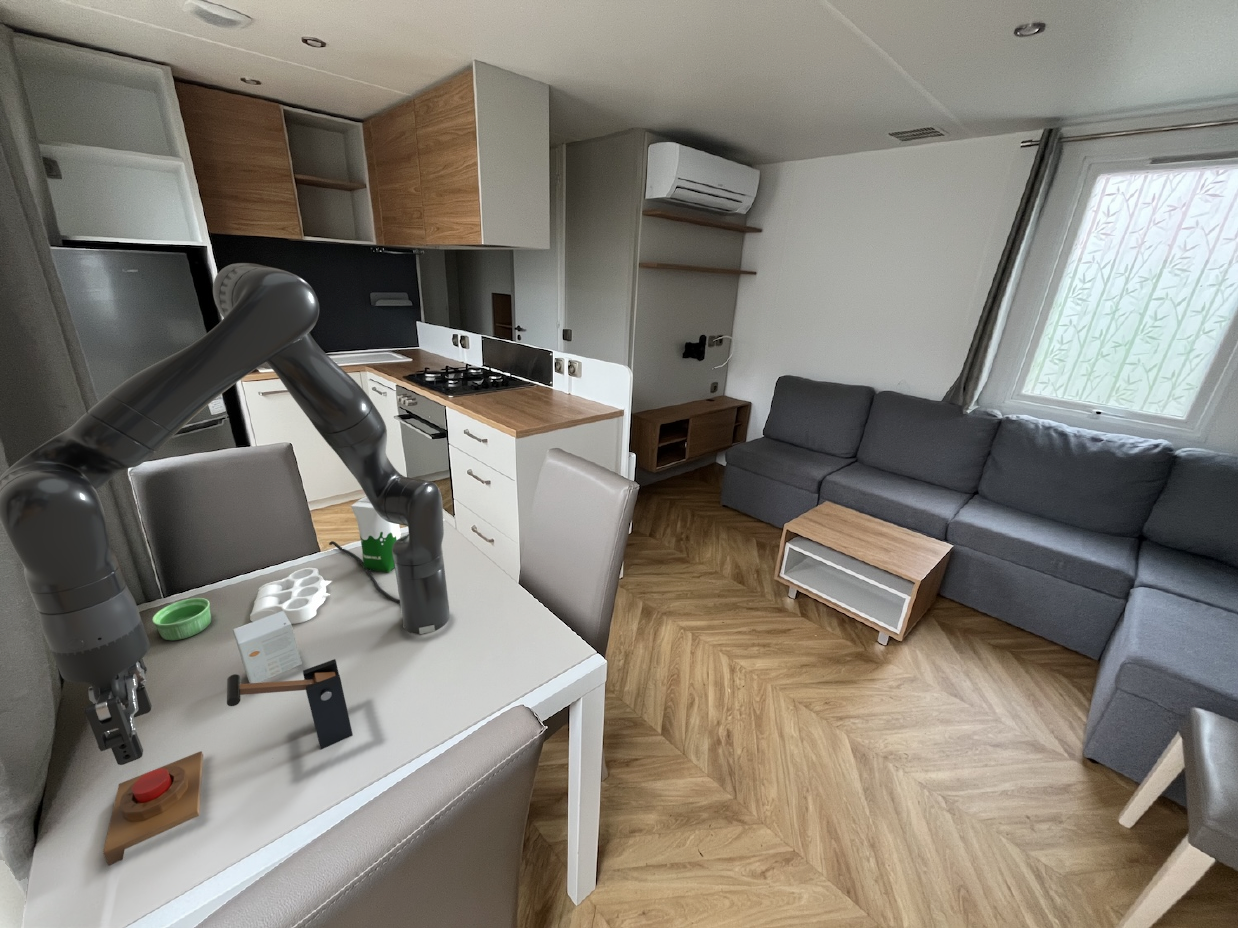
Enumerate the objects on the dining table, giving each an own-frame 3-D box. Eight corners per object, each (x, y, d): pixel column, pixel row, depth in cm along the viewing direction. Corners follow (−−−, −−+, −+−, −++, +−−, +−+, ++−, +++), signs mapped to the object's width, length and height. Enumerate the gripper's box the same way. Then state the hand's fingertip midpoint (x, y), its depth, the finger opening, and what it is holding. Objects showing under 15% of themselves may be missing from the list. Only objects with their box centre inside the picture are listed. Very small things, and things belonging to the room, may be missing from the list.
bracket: (298, 778, 72) (279, 710, 68) (293, 735, 79) (275, 671, 74) (379, 740, 78) (367, 676, 74) (368, 703, 85) (356, 643, 81)
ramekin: (158, 649, 96) (151, 630, 95) (158, 626, 103) (152, 608, 101) (216, 630, 102) (210, 612, 100) (213, 609, 108) (207, 592, 107)
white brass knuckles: (263, 588, 116) (334, 574, 122) (249, 634, 101) (330, 616, 107) (260, 576, 115) (331, 562, 121) (245, 621, 100) (328, 603, 106)
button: (138, 786, 67) (134, 777, 66) (173, 772, 69) (169, 763, 68) (134, 808, 64) (129, 799, 63) (170, 793, 66) (166, 783, 65)
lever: (224, 710, 65) (229, 694, 65) (225, 686, 69) (229, 671, 69) (333, 700, 74) (338, 685, 74) (329, 679, 78) (333, 666, 77)
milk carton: (410, 556, 131) (400, 487, 124) (389, 575, 122) (377, 501, 115) (379, 553, 132) (368, 484, 125) (357, 571, 124) (344, 498, 117)
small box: (296, 654, 96) (284, 609, 92) (304, 669, 92) (292, 623, 88) (246, 675, 90) (231, 628, 87) (252, 692, 87) (237, 644, 83)
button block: (124, 795, 69) (114, 774, 68) (205, 761, 74) (198, 741, 73) (108, 865, 61) (97, 844, 59) (202, 822, 66) (193, 801, 64)
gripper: (130, 650, 54) (170, 760, 60) (147, 590, 65) (179, 688, 70) (30, 679, 50) (82, 795, 55) (65, 609, 61) (106, 712, 66)
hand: (136, 735), depth 63 cm, fingers open, 8 cm apart
